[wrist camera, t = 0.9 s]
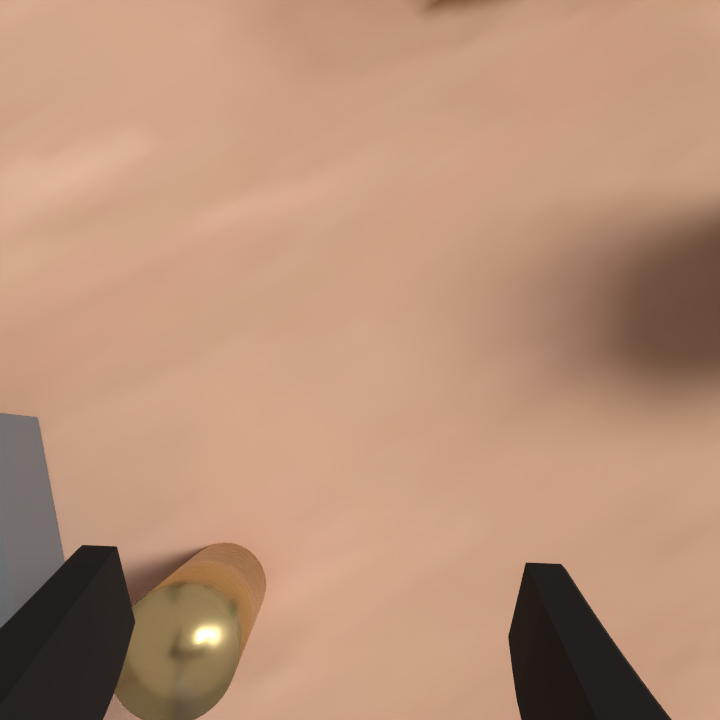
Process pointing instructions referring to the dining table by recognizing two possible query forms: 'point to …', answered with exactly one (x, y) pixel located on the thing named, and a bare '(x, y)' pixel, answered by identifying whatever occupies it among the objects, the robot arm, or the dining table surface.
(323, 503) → the dining table surface
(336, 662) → the dining table surface
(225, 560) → the brass pin
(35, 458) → the block
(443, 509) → the dining table surface
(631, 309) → the dining table surface
